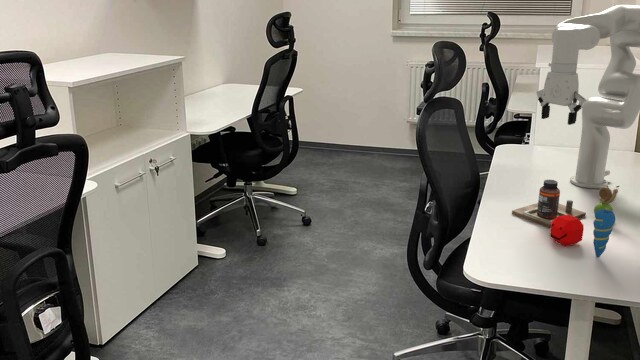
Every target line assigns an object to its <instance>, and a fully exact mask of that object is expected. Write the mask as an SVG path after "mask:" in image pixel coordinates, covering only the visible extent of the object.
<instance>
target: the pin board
mask: <svg viewBox="0 0 640 360" xmlns="http://www.w3.org/2000/svg"><path fill="white" fill-rule="evenodd" d="M573 203H574V201H573V200H572V199H571V200H570V199H567V200H566V204H562V203H559V205H558V213H557V217H558V216H563V215H568V214H569V215H571V216H573V217H575V218H578V219H579V220H580V219H582V218H585V217H586V216H587V213H586V212H584V211H582V210H579V209H576V208H574V207H573ZM537 208H538V202H535V203H532V204H530V205H526V206H523V207H519V208H516V209H512V210H511V215H513V216H516V217H518V218H520V219H521V218H522V219H524V220H527V221H529V222H531V223H535V224H536V225H540V226H543V227H545V228H547V229H551V223H552V220H554V219H555V218H553V219H545V218H542V217H539V216H538V215H537ZM557 217H556V218H557Z"/></svg>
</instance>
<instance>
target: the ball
mask: <svg viewBox="0 0 640 360" xmlns="http://www.w3.org/2000/svg"><path fill="white" fill-rule="evenodd" d="M584 230H585V229H584V224H583V222H582V221H581V220H580V218H579V219H578V218H575V217H573V216H571V215H569V214H568V215H563V216H558V217H557V218H555V219H554V220H552V223H551V228H550V232H549V236H550V237H551V239H552V240H553V241H554V242H555V243H557V244H559V245H561V246H563V247H568V246H573V245H577V244H578V243H579V242H582V240H583V235H584Z"/></svg>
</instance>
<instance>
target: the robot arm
mask: <svg viewBox="0 0 640 360" xmlns="http://www.w3.org/2000/svg"><path fill="white" fill-rule="evenodd" d="M608 38H609V45H610V52H611V53H610V55H611V57H610V60H609V63H608V65H607V67H606V69H605V71H604V72H603V75H602V77H601V79H600V81H599V84H598V86H597V87H598V88H597V91H598V93H599V95H600V96H592V97H591V96H590V97H589V98H587V99H586V98H585V97H583V95H581V94H580V93H579V89H580V88H579V74H578V73H577V67H578V62H579V61H578V60H579V51H581V50H582V51H588V50H593V48H595V47H596V46H597V45H598V44H599V42H600V40H603V39H608ZM551 41H552V43H553V45H552V46H553V47H552V53H551V54H552V55H551V61H550V62H549V63H548V67H550V70H549V71H547V75H546V77H545V82H544V85H543V88H542V89H539V90H538V91H536V96H537V100H538V101H539V103H540V106H541V115H540V116H541V117H540V118H541V119H542V120H544V119H549V118H550V112H551V111H550V110H551V106H550V104H551V105H557V106H561V107H568V109H569V111H570V112H568V115H567V116H568V117H567V125H570V126H571V125H574V124H576V121H577V116H578V112H579V111H580V110H581V120H582V121H581V122H582V123H581V126H582V127H581V133H580V135H581V136H580V143H579V148H578V155H577V164H576V169H575V175H573V176H571V177H570V179H569V182H570V183H571V184H572V185H575V186H577V187H581V188H585V189H601V188H602V187H608V185H609V183H608V181H607V180H606V179H605V177H607V176H610V174H611V171H610V170H608V169H607V170H606V166H607V160H608V154H609V148H610V141H611V135H610V132H609V129H608V128H615V129H621V130H625V129H629V128H630V127H632V125H633V124H634V123H635V121H636V119H637V117H638V115H639V112H640V73H635V72H634V70H635V68H636V66H637V61H636V58H635V55H634V54H633V52H632V50H631V48H640V5H637V4H635V5H634V4H617V5H615V6H611V7H609V8H606V9H605V10H603V11H601V12H599V13H592V14H588V15H583V16H578V17H573V18H569V19H566V20H564V21H562V22H560V23H558V24H557V25H556V26H555V27H554V29H553V30H552V33H551Z"/></svg>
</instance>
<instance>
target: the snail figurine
mask: <svg viewBox="0 0 640 360" xmlns="http://www.w3.org/2000/svg"><path fill="white" fill-rule="evenodd" d="M619 187H620V185H616V186H615V188H614V189H612V190H611V189H610V188H609V187H608V186H607V187H602V188H599V191H598V195H599V196H598V197H597V198H598V200H599V201H600V202H598V203H597V204H595V206H594V209H593V213H594V215H595V212H596V211H598V210H602V209H605V208H606V207H607V208H608V207H609V210H610V211H612V212H614V208H613V206H612V205H611V204H612V203H613V202H614V201H615V199H616V198H617V194H618V193H619Z"/></svg>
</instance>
